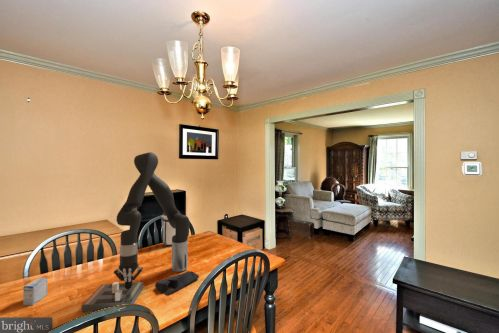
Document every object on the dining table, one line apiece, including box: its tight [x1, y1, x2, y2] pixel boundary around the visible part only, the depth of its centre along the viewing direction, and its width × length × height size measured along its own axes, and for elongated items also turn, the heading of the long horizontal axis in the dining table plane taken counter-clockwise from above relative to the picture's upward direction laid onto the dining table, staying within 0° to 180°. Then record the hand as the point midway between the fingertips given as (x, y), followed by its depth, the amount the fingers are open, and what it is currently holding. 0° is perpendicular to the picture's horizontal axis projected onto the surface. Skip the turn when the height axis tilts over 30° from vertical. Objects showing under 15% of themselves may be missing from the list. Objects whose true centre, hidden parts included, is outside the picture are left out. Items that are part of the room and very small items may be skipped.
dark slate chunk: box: [154, 270, 200, 296], centre depth 123 cm, size 15×22×5 cm
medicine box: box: [22, 277, 48, 306], centre depth 106 cm, size 8×4×9 cm, turn 5°
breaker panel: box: [81, 280, 144, 313], centre depth 107 cm, size 20×17×7 cm
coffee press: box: [160, 210, 181, 248], centre depth 182 cm, size 17×16×30 cm
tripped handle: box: [111, 281, 120, 293], centre depth 107 cm, size 2×2×4 cm
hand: (128, 288), depth 108 cm, fingers closed
